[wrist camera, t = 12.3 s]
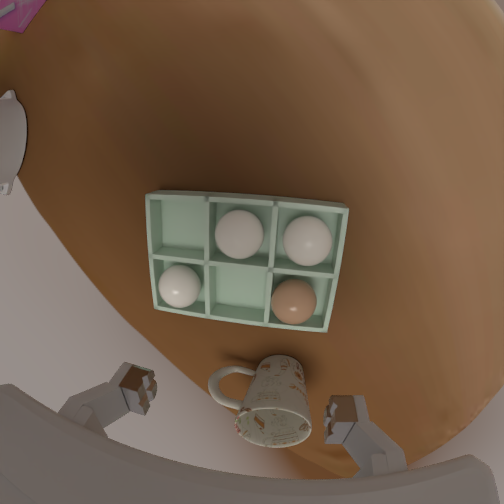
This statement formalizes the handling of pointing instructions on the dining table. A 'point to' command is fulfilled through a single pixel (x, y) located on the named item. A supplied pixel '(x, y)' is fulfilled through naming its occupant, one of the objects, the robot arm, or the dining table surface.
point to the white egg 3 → (307, 240)
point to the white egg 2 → (239, 234)
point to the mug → (269, 402)
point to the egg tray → (240, 270)
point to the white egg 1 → (179, 286)
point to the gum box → (18, 13)
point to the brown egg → (293, 301)
